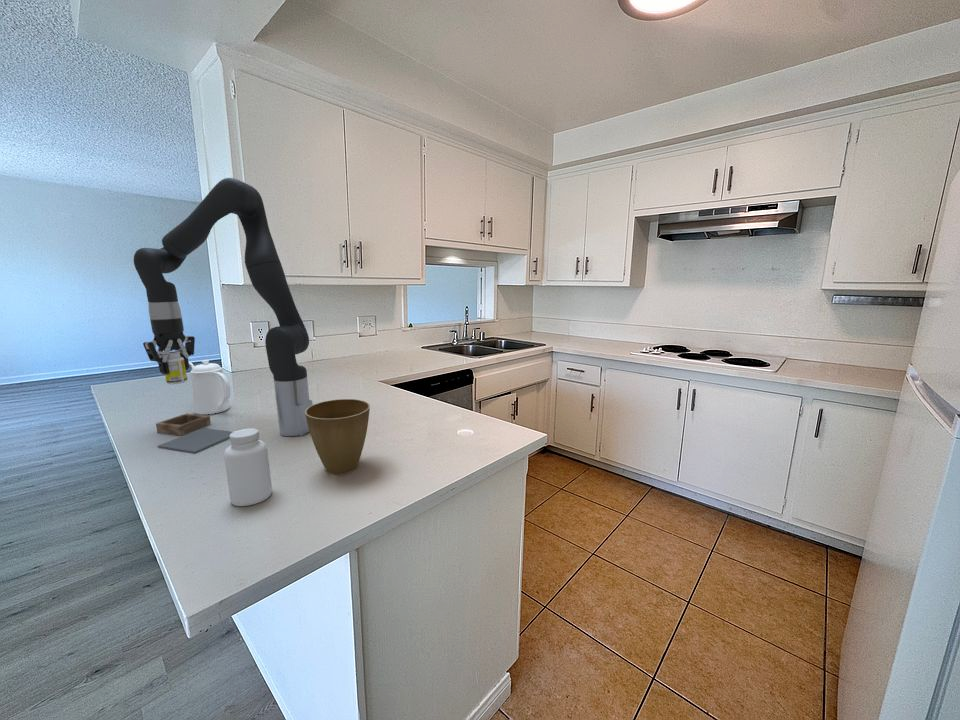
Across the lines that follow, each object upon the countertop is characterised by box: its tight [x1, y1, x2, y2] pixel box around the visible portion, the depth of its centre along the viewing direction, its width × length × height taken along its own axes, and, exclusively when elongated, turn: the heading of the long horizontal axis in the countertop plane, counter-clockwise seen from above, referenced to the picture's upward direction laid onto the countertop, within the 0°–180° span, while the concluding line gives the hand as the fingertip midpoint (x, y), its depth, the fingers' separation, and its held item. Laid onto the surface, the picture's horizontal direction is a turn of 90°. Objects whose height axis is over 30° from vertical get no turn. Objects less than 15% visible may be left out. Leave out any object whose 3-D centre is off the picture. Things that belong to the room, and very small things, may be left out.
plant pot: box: [305, 398, 371, 476], centre depth 96 cm, size 15×15×16 cm
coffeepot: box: [189, 359, 231, 416], centre depth 139 cm, size 11×25×19 cm, turn 62°
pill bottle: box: [223, 427, 273, 507], centre depth 83 cm, size 8×8×15 cm
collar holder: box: [155, 412, 212, 437], centre depth 123 cm, size 10×10×3 cm
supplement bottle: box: [164, 350, 188, 385], centre depth 120 cm, size 5×5×10 cm
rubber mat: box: [157, 427, 234, 455], centre depth 114 cm, size 14×14×1 cm
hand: (175, 371), depth 120 cm, fingers closed on supplement bottle, 5 cm apart
